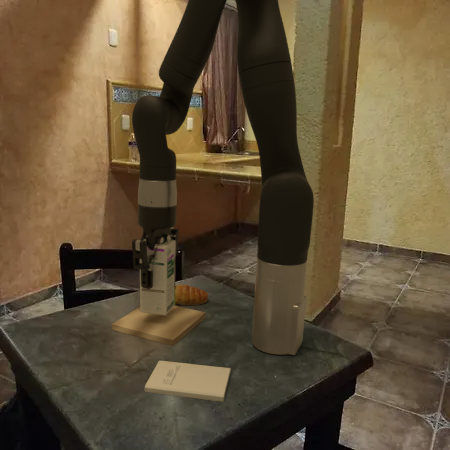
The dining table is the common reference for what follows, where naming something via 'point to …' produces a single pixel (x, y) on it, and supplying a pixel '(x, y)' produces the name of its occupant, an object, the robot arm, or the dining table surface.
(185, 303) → the pastry
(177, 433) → the dining table surface
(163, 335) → the board
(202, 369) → the external hard drive
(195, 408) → the dining table surface
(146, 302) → the syrup box
